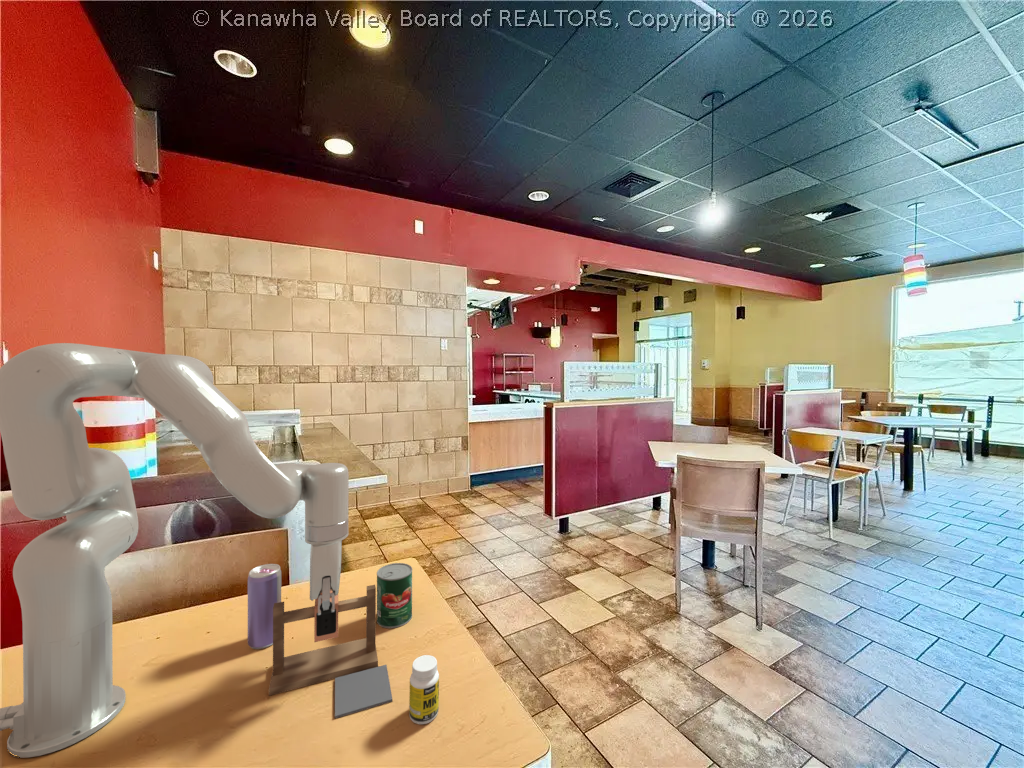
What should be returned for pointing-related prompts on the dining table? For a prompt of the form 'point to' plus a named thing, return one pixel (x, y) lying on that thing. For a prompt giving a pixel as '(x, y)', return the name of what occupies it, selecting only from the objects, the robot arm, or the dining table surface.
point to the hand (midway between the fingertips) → (326, 618)
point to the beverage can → (262, 604)
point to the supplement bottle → (424, 690)
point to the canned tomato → (394, 595)
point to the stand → (322, 649)
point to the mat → (362, 691)
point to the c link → (334, 635)
